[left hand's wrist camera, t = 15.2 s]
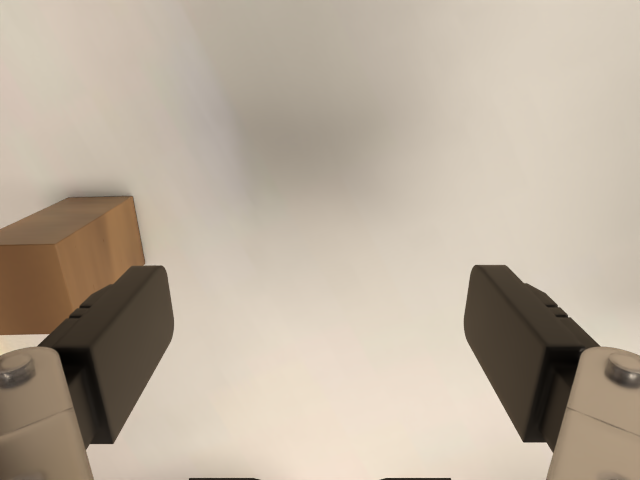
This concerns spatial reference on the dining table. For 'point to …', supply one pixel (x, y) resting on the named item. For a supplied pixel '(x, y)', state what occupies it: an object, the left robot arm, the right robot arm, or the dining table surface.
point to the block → (64, 260)
